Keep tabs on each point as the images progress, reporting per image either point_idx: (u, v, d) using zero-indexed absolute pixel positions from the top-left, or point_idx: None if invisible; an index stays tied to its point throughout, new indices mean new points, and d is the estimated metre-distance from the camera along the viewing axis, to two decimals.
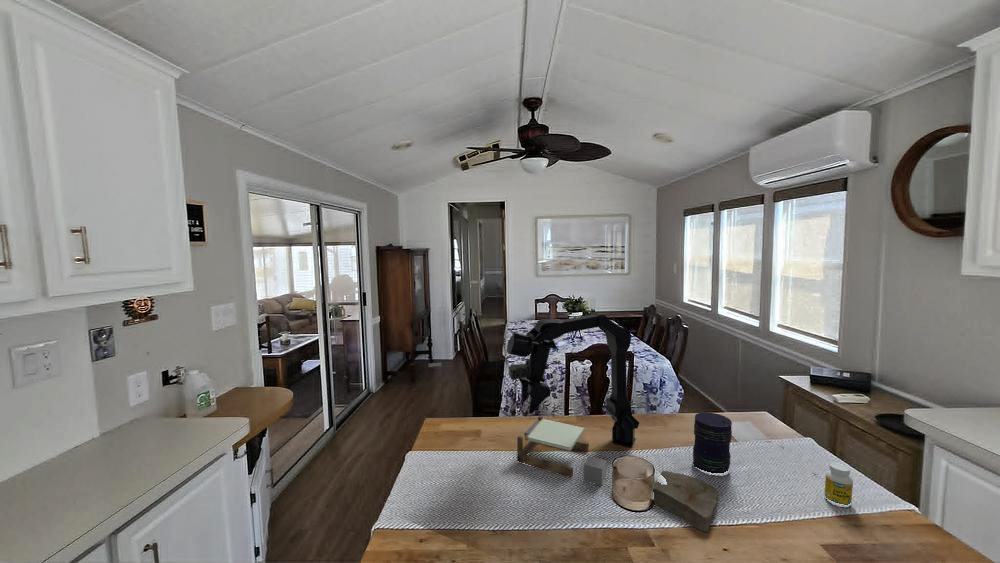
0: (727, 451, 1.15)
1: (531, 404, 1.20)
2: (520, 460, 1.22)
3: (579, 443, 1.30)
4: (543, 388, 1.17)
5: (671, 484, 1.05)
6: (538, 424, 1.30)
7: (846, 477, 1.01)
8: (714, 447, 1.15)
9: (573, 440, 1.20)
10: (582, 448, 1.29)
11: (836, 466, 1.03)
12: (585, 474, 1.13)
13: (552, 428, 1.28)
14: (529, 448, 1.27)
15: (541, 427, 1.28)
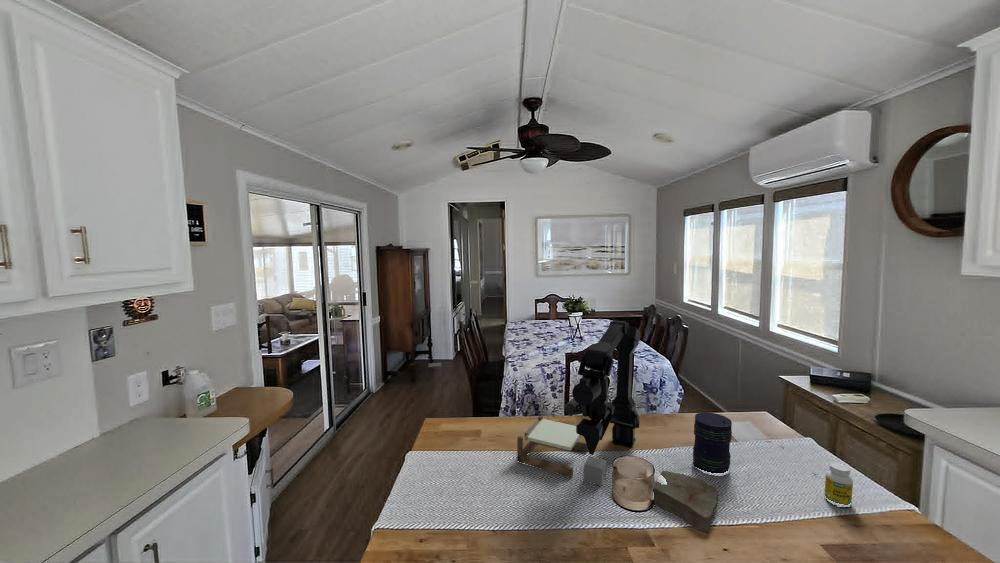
0: (727, 451, 1.15)
1: (587, 444, 1.08)
2: (520, 460, 1.22)
3: (579, 443, 1.30)
4: (588, 428, 1.04)
5: (671, 484, 1.05)
6: (538, 424, 1.30)
7: (846, 478, 1.01)
8: (714, 447, 1.15)
9: (573, 440, 1.20)
10: (582, 448, 1.29)
11: (836, 466, 1.03)
12: (585, 474, 1.13)
13: (552, 428, 1.28)
14: (529, 448, 1.27)
15: (541, 427, 1.28)
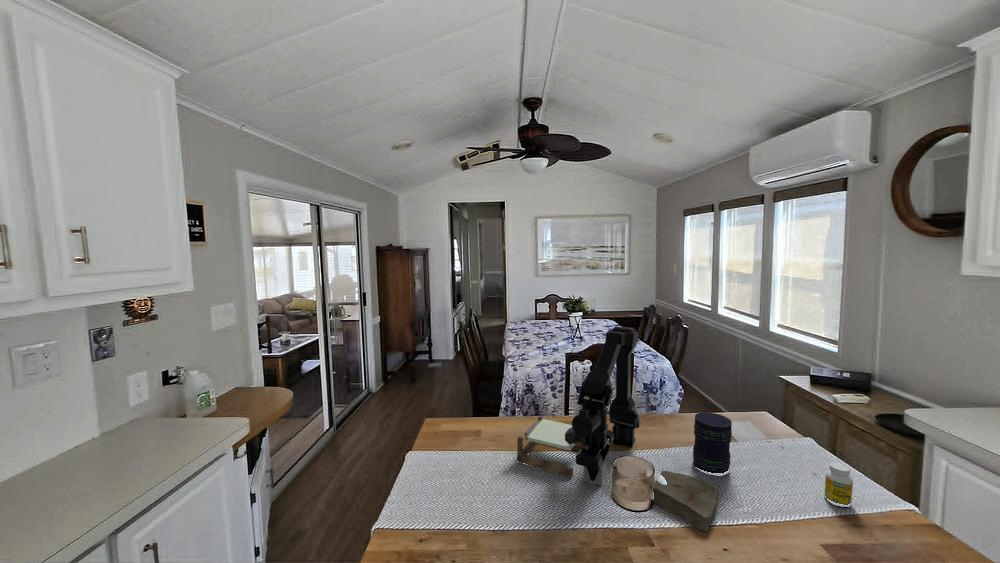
0: (727, 451, 1.15)
1: (589, 471, 1.11)
2: (520, 460, 1.22)
3: (579, 443, 1.30)
4: (587, 459, 1.05)
5: (671, 484, 1.05)
6: (538, 424, 1.30)
7: (846, 478, 1.01)
8: (714, 447, 1.15)
9: None
10: None
11: (836, 466, 1.03)
12: (585, 474, 1.13)
13: (552, 428, 1.28)
14: (529, 448, 1.27)
15: (541, 427, 1.28)
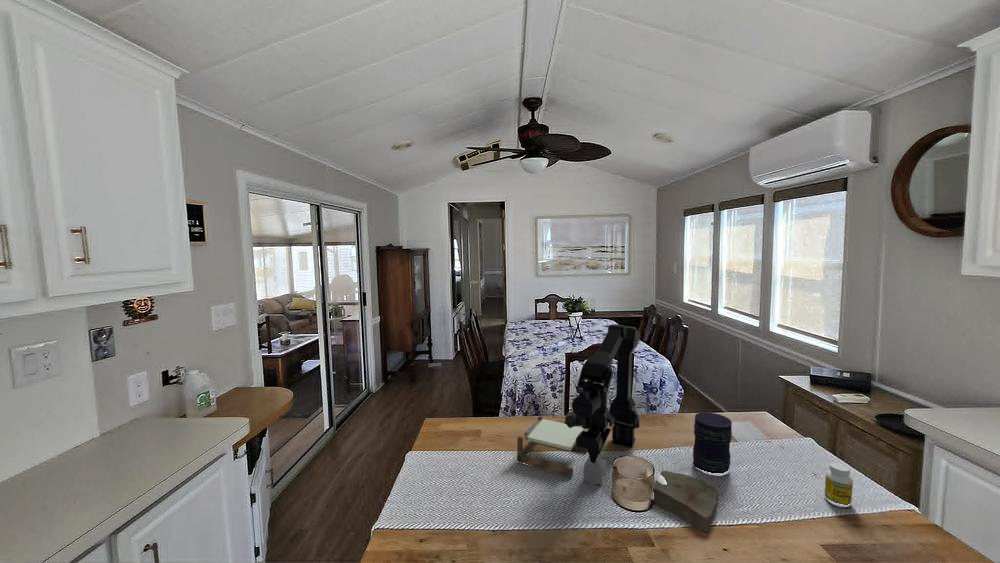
0: (727, 451, 1.15)
1: (589, 453, 1.10)
2: (520, 460, 1.22)
3: None
4: (588, 440, 1.04)
5: (671, 484, 1.05)
6: (538, 424, 1.30)
7: (846, 478, 1.01)
8: (714, 447, 1.15)
9: (573, 440, 1.20)
10: (582, 448, 1.29)
11: (836, 466, 1.03)
12: (585, 474, 1.13)
13: (552, 428, 1.28)
14: (529, 448, 1.27)
15: (541, 427, 1.28)
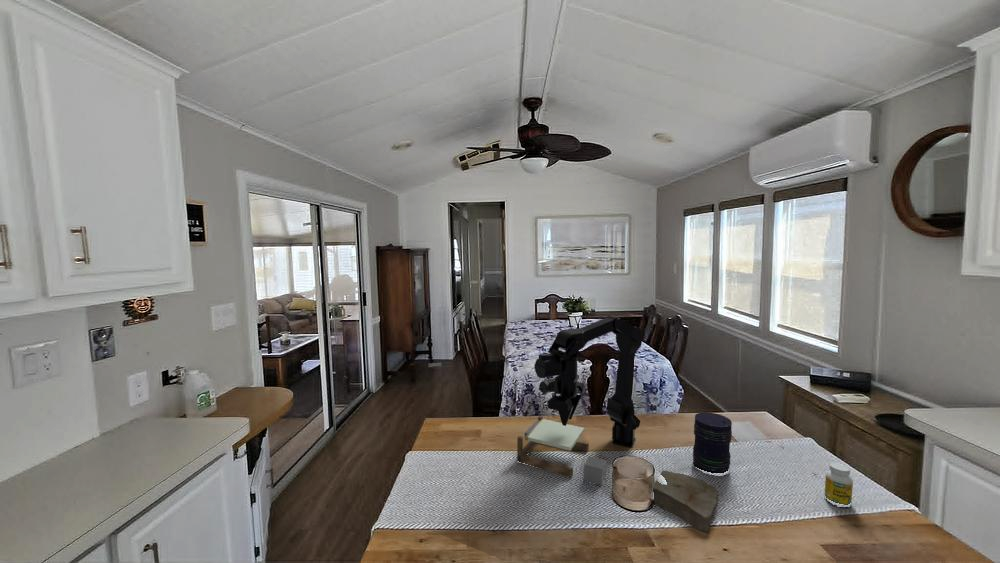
0: (727, 451, 1.15)
1: (560, 416, 1.20)
2: (520, 460, 1.22)
3: (579, 443, 1.30)
4: (558, 403, 1.14)
5: (671, 484, 1.05)
6: (538, 424, 1.30)
7: (846, 477, 1.01)
8: (714, 447, 1.15)
9: (573, 440, 1.20)
10: (582, 448, 1.29)
11: (836, 466, 1.03)
12: (585, 474, 1.13)
13: (552, 428, 1.28)
14: (529, 448, 1.27)
15: (541, 427, 1.28)
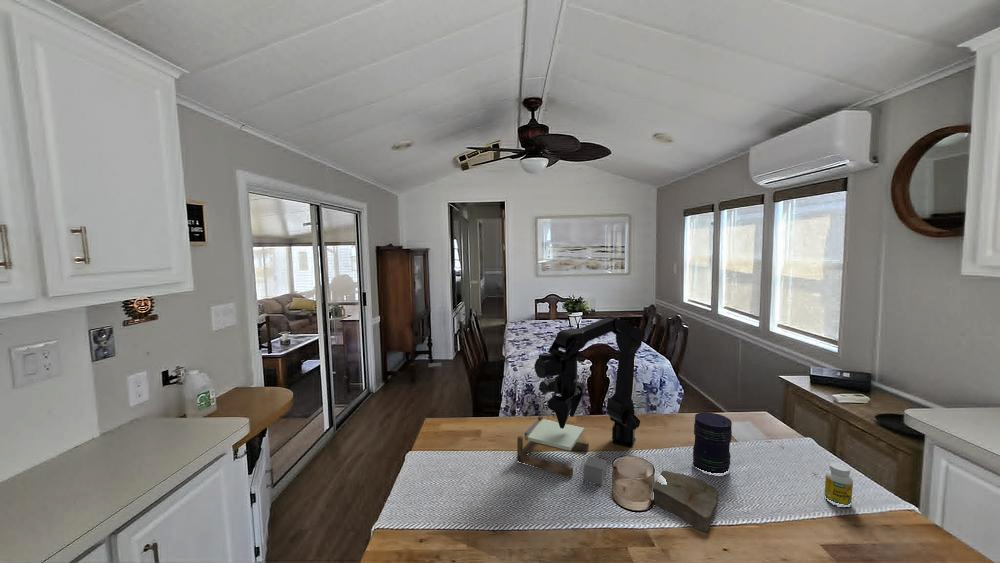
0: (727, 451, 1.15)
1: (558, 419, 1.18)
2: (520, 460, 1.22)
3: (579, 443, 1.30)
4: (558, 403, 1.14)
5: (671, 484, 1.05)
6: (538, 424, 1.30)
7: (846, 477, 1.01)
8: (714, 447, 1.15)
9: (573, 440, 1.20)
10: (582, 448, 1.29)
11: (836, 466, 1.03)
12: (585, 474, 1.13)
13: (552, 428, 1.28)
14: (529, 448, 1.27)
15: (541, 427, 1.28)
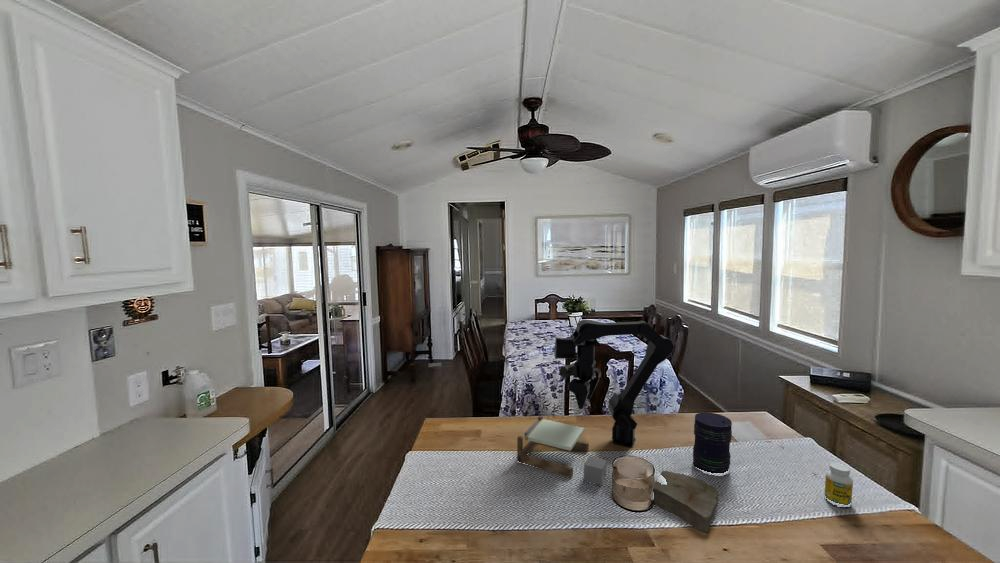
0: (727, 451, 1.15)
1: (577, 400, 1.30)
2: (520, 460, 1.22)
3: (579, 443, 1.30)
4: (578, 385, 1.25)
5: (670, 484, 1.05)
6: (538, 424, 1.30)
7: (846, 477, 1.01)
8: (714, 447, 1.15)
9: (573, 440, 1.20)
10: (582, 448, 1.29)
11: (836, 466, 1.03)
12: (585, 474, 1.13)
13: (552, 428, 1.28)
14: (529, 448, 1.27)
15: (541, 427, 1.28)
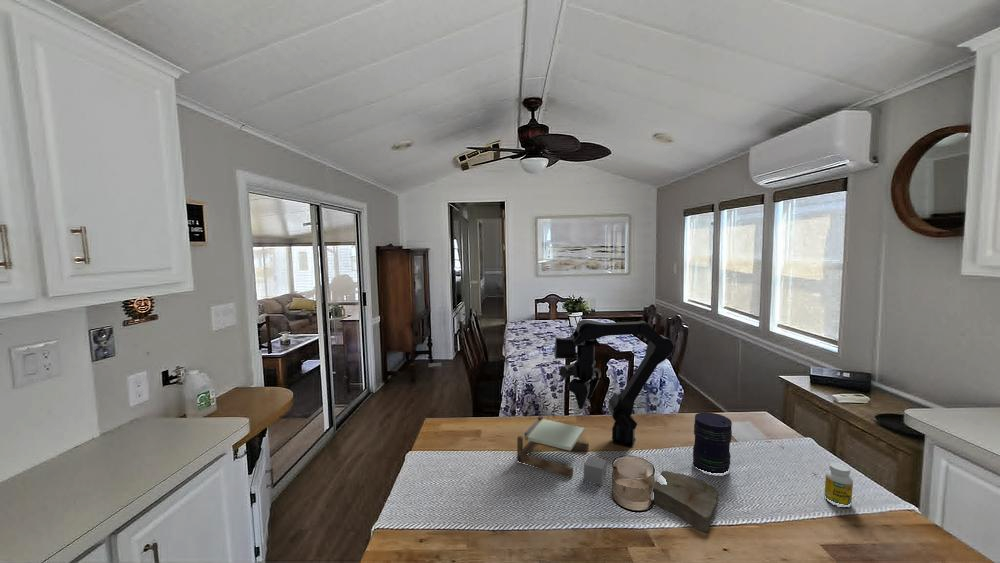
0: (727, 451, 1.15)
1: (577, 400, 1.30)
2: (520, 460, 1.22)
3: (579, 443, 1.30)
4: (578, 385, 1.25)
5: (670, 484, 1.05)
6: (538, 424, 1.30)
7: (846, 478, 1.01)
8: (714, 447, 1.15)
9: (573, 440, 1.20)
10: (582, 448, 1.29)
11: (836, 466, 1.03)
12: (585, 474, 1.13)
13: (552, 428, 1.28)
14: (529, 448, 1.27)
15: (541, 427, 1.28)
